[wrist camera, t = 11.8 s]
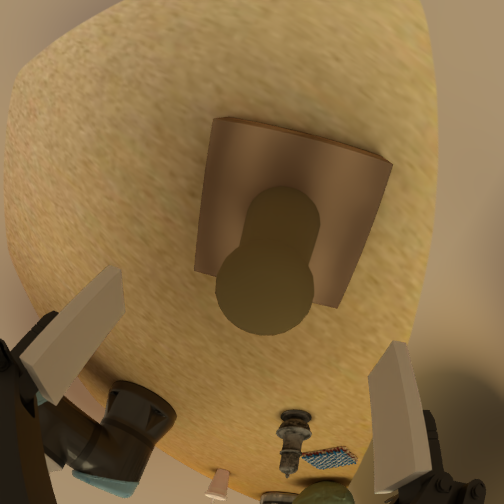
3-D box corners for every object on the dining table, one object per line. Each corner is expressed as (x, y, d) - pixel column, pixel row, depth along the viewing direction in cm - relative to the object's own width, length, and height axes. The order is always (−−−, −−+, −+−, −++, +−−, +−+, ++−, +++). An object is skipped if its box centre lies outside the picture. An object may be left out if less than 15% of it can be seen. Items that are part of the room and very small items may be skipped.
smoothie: (222, 466, 64) (210, 507, 52) (238, 474, 66) (227, 513, 54) (208, 467, 67) (195, 505, 55) (224, 474, 68) (212, 511, 56)
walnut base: (207, 251, 31) (194, 270, 27) (227, 116, 24) (213, 118, 20) (335, 284, 30) (337, 308, 26) (381, 155, 23) (392, 164, 19)
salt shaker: (273, 411, 43) (261, 473, 33) (306, 406, 41) (298, 472, 31) (286, 426, 45) (276, 483, 35) (317, 422, 43) (311, 482, 33)
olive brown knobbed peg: (244, 185, 22) (191, 249, 13) (322, 188, 21) (329, 258, 12) (247, 253, 25) (206, 344, 16) (317, 258, 24) (315, 357, 15)
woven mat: (319, 464, 55) (318, 471, 53) (299, 450, 51) (298, 458, 50) (359, 457, 50) (359, 464, 48) (344, 443, 47) (344, 451, 45)
